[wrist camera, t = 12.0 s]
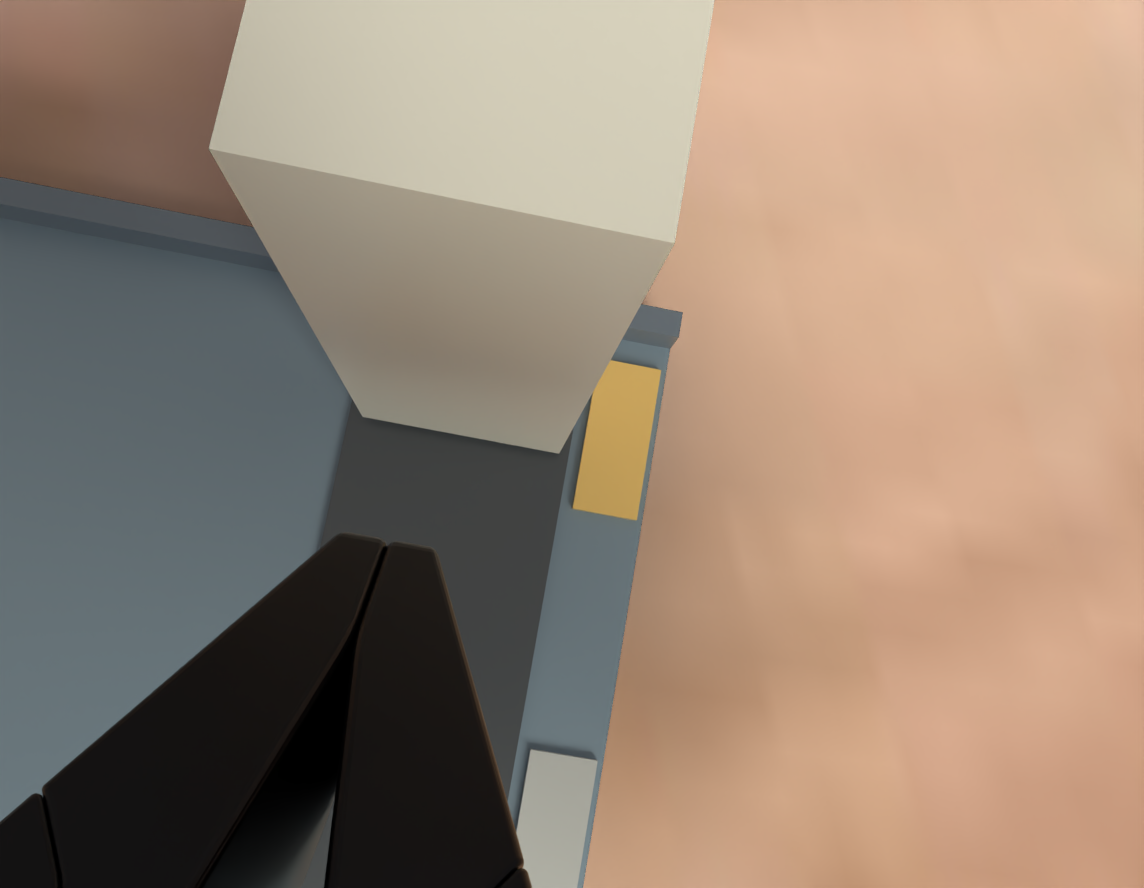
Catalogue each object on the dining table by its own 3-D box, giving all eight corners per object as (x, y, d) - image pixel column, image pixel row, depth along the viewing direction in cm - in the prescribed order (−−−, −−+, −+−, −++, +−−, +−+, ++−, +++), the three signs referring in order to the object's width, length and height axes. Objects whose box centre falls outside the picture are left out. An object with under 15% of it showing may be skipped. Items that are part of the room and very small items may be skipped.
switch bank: (537, 1115, 15) (545, 1170, 13) (-770, 926, 14) (-919, 965, 12) (664, 338, 17) (682, 312, 16) (-461, 117, 16) (-556, 67, 14)
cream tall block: (558, 453, 15) (674, 242, 7) (362, 417, 15) (207, 148, 6) (581, 328, 16) (720, -33, 7) (389, 290, 16) (278, -129, 7)
